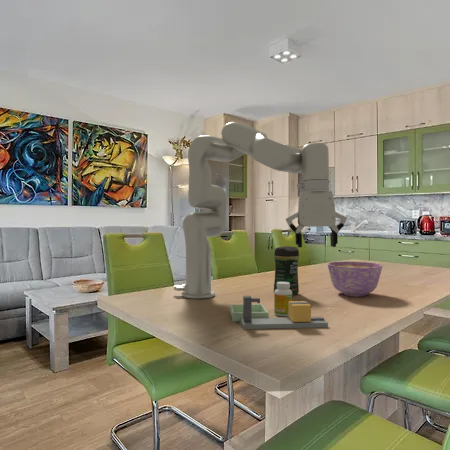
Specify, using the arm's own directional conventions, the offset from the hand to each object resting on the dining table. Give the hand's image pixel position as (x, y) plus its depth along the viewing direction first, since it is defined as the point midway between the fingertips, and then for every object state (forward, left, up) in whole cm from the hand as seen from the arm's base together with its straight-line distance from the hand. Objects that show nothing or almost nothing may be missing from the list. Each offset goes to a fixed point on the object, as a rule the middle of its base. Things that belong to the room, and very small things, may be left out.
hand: (316, 246), depth 105 cm
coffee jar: (0, +36, -21) cm, 42 cm away
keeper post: (-19, -4, -21) cm, 29 cm away
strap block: (-6, -4, -20) cm, 21 cm away
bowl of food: (+26, +34, -21) cm, 48 cm away
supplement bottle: (-8, +7, -21) cm, 24 cm away
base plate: (-11, -4, -21) cm, 24 cm away
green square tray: (-19, +5, -21) cm, 29 cm away
